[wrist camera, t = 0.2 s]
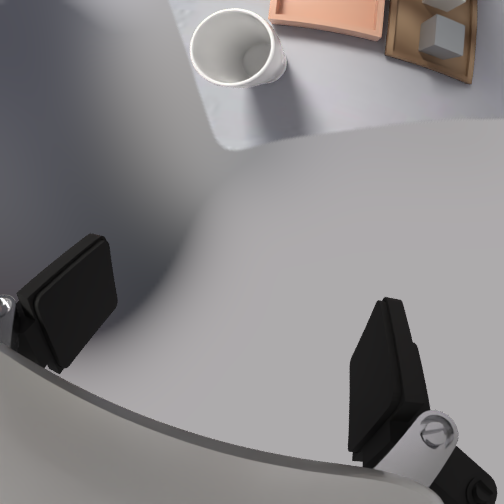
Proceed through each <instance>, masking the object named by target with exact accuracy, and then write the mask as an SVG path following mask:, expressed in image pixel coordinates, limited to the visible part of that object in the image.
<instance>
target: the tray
mask: <svg viewBox="0 0 504 504" xmlns="http://www.w3.org/2000/svg"><path fill="white" fill-rule="evenodd" d="M436 14H438V15H441V16H444V17H446V18H448V19H451V20H453V21H456V22H458V23H460V24H463V25H465V37H464V49H463V56H460V57H455V58H450V59H446V60H442V59H439V58H437V57H434V56H431V55H429V54H426V53H423V52H420V51H418V48H419V39H420V28H421V24H422V23H423V22H425V21H426V20H428V19H430V18H431V17H433V16H434V15H436ZM476 33H477V0H466V2H465V3H463V4H461V5H459V6H457V7H456V8H454V9H452V10H450V11H449V12H445V11H443V10H440V9H438V8H435V7H432V6H430V5H427V4H424V3H422V0H390V6H389V18H388V28H387V37H386V46H385V54H384V55H386V56H390V57H393V58H397V59H400V60H403V61H407V62H410V63H413V64H416V65H419V66H422V67H425V68H428V69H431V70H433V71H436V72H439V73H442V74H444V75H447V76H449V77H452V78H454V79H457V80H459V81H462V82H464V83H466V84H472V77H473V68H474V59H475V48H476Z"/></svg>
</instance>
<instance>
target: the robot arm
mask: <svg viewBox="0 0 504 504" xmlns="http://www.w3.org/2000/svg"><path fill="white" fill-rule="evenodd" d="M17 296H18V299H19V301H18V302H17V303H16V301H15V300H14V298H13V297H11V296H9V295H0V504H495V501H496V497H497V487H496V484H495V482H494V480H493V479H492V477H491V476H490V475H489V474H487V473H486V472H485V471H484V470H483V469H482V468H481V467H479V466H478V465H477V464H476V463H475V462H474V461H473V460H472V459H470V458H469V457H468V456H467V455H466V454H465V453H464V452H462V450H460V449H459V448H458V447H457V446H456V444H457V441H458V430H457V426H456V424H455V423H454V421H453V420H452V419H451V418H450V417H449V416H448V415H447V414H445V413H443V412H441V411H437V410H430V406H429V399H428V394H427V389H426V383H425V379H424V374H423V369H422V364H421V360H420V355H419V351H418V348H417V345H416V344H415V343H413V342H412V337H411V333H410V329H409V325H408V322H407V318H406V314H405V310H404V306H403V303H402V301H401V300H398V299H393V298H388V297H385V298H384V299H383V300H382V301H379V300H378V301H377V303H376V305H375V307H374V309H373V312H372V314H371V316H370V319H369V321H368V323H367V325H366V328H365V330H364V332H363V334H362V336H361V338H360V341H359V343H358V345H357V347H356V349H355V351H354V353H353V355H352V358H351V361H350V404H349V405H350V406H349V437H348V438H349V439H348V451H349V452H353V457H352V461H361V462H363V467H357V466H350V465H343V464H336V463H328V462H320V461H313V460H307V459H301V458H295V457H290V456H284V455H280V454H274V453H269V452H264V451H259V450H255V449H250V448H246V447H242V446H237V445H234V444H230V443H226V442H222V441H219V440H215V439H211V438H208V437H204V436H201V435H198V434H195V433H192V432H188V431H185V430H182V429H179V428H176V427H173V426H170V425H167V424H165V423H162V422H159V421H156V420H154V419H151V418H148V417H145V416H143V415H140V414H138V413H135V412H133V411H131V410H128V409H126V408H123V407H121V406H119V405H116V404H114V403H112V402H109V401H107V400H105V399H103V398H101V397H99V396H96V395H94V394H92V393H90V392H88V391H86V390H84V389H82V388H80V387H78V386H76V385H74V384H72V383H70V382H68V381H66V380H64V379H62V378H61V377H59V376H57V375H55V374H53V373H51V372H50V371H48V370H46V369H45V367H46V365H48V367H49V369H51V370H53V371H55V372H56V373H58V374H60V373H61V372H62V370H63V369H64V368H67V367H68V366H70V364H71V363H72V362H73V360H74V359H75V357H76V356H77V355H78V354H79V353H80V351H81V350H82V349H83V348H84V346H85V345H86V344H87V343H88V341H89V340H90V339H91V338H92V336H93V335H94V334H95V332H96V331H97V330H98V328H100V326H101V325H102V324H103V323H104V322H105V320H106V319H107V318H108V317H109V315H110V314H111V313H112V312H113V311H114V309H115V308H116V306H117V294H116V288H115V282H114V276H113V269H112V263H111V256H110V247H109V243H108V242H107V241H106V239H105V237H104V236H100V235H96V234H88V235H87V236H86V237H84V238H83V239H82V240H80V241H79V242H78V243H76V244H75V245H74V246H73V247H71V248H70V249H69V250H68V251H66V252H65V253H64V254H62V255H61V256H60V257H59V258H57V259H56V260H55V261H54V262H53V263H51V264H50V265H49V266H48V267H46V268H45V269H44V270H43V271H42V272H40V273H39V274H38V275H37V276H36V277H34V278H33V279H32V280H31V281H30V282H29V283H28V284H26V285H25V286H24V287H23V288H22V289H21V290H19V291H18V292H17Z"/></svg>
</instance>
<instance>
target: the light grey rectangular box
mask: <svg viewBox="0 0 504 504" xmlns="http://www.w3.org/2000/svg"><path fill="white" fill-rule="evenodd" d="M465 2H466V0H422V3H424V4H427V5H430V6H432V7H435V8H438V9H440V10H443V11H445V12H449V11H450V10H452V9H454V8H456V7H457V6H459V5H461V4H463V3H465Z"/></svg>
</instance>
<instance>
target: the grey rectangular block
mask: <svg viewBox="0 0 504 504" xmlns="http://www.w3.org/2000/svg"><path fill="white" fill-rule="evenodd" d="M464 37H465V25H463V24H460V23H458V22H456V21H453V20H451V19H448V18H446V17H444V16H441V15H438V14H436V15H434V16H433V17H431V18H430V19H428V20H426V21H425V22H423V23H422V24H421V28H420V39H419V48H418V51H420V52H423V53H426V54H429V55H431V56H434V57H437V58H439V59H442V60H446V59H450V58H455V57H460V56H463V49H464Z"/></svg>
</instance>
